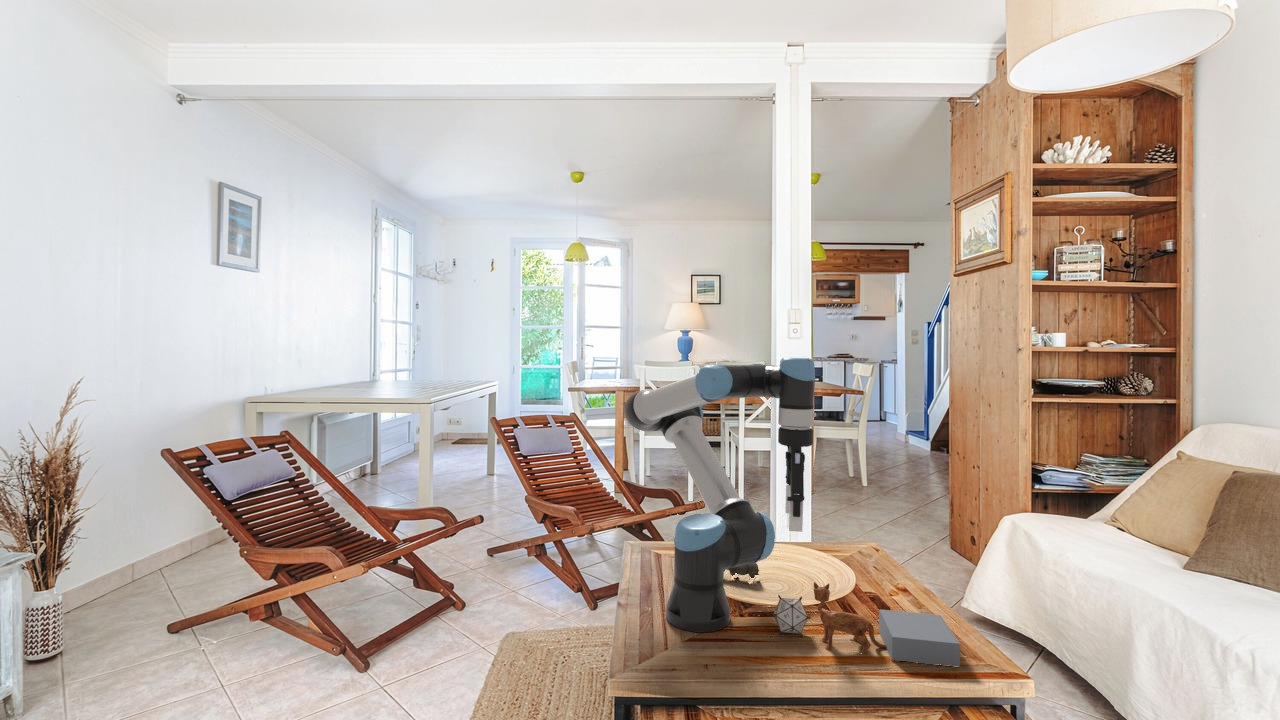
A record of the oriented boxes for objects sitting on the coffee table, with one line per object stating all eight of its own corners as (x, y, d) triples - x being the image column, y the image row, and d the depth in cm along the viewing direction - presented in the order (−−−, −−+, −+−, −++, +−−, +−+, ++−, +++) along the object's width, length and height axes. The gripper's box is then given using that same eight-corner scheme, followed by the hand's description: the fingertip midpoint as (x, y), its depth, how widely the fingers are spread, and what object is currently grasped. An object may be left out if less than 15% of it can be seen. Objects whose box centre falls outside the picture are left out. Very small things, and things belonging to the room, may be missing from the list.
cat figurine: (889, 645, 132) (894, 584, 131) (900, 662, 126) (905, 598, 125) (806, 637, 133) (811, 577, 133) (813, 653, 127) (818, 590, 126)
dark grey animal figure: (711, 573, 169) (712, 552, 169) (760, 580, 165) (761, 558, 165) (708, 578, 165) (708, 557, 165) (758, 586, 161) (759, 564, 161)
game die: (794, 653, 133) (799, 631, 127) (761, 629, 138) (764, 606, 132) (814, 624, 138) (820, 601, 132) (782, 601, 143) (786, 578, 136)
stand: (891, 660, 124) (892, 636, 124) (878, 630, 137) (879, 609, 136) (959, 668, 121) (960, 643, 121) (939, 637, 134) (940, 615, 134)
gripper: (819, 436, 120) (816, 540, 121) (808, 420, 145) (805, 507, 146) (781, 434, 122) (778, 538, 122) (776, 419, 146) (774, 505, 147)
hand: (793, 521), depth 134 cm, fingers open, 13 cm apart
